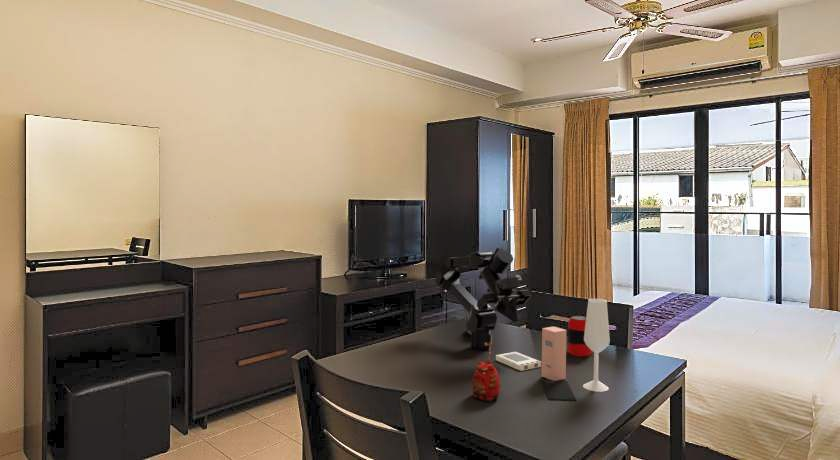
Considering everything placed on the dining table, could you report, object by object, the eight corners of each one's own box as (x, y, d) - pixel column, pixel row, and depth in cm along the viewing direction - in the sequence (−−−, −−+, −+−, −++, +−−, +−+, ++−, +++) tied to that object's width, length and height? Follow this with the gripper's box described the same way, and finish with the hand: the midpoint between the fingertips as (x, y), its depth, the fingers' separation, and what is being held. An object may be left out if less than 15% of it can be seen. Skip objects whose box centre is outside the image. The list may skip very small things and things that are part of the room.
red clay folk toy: (466, 396, 134) (466, 339, 133) (483, 389, 139) (483, 335, 138) (489, 405, 128) (490, 345, 128) (506, 397, 133) (507, 340, 133)
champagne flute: (592, 392, 137) (594, 303, 135) (577, 384, 143) (579, 298, 142) (614, 390, 139) (616, 302, 137) (598, 381, 145) (600, 297, 144)
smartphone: (578, 403, 131) (566, 382, 146) (578, 399, 131) (566, 379, 146) (548, 402, 132) (539, 381, 146) (548, 398, 131) (539, 378, 146)
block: (541, 376, 149) (542, 328, 148) (553, 373, 151) (554, 326, 150) (553, 381, 145) (554, 332, 144) (565, 378, 147) (566, 330, 146)
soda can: (586, 358, 167) (587, 321, 167) (564, 354, 172) (564, 318, 171) (594, 352, 173) (595, 317, 173) (572, 348, 178) (573, 314, 177)
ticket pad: (495, 360, 165) (495, 354, 165) (515, 356, 169) (515, 351, 169) (520, 370, 154) (520, 365, 154) (541, 366, 158) (541, 361, 158)
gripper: (482, 268, 161) (504, 310, 152) (528, 265, 170) (551, 304, 161) (468, 290, 168) (487, 330, 159) (512, 285, 178) (534, 323, 169)
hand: (516, 321), depth 162 cm, fingers closed
